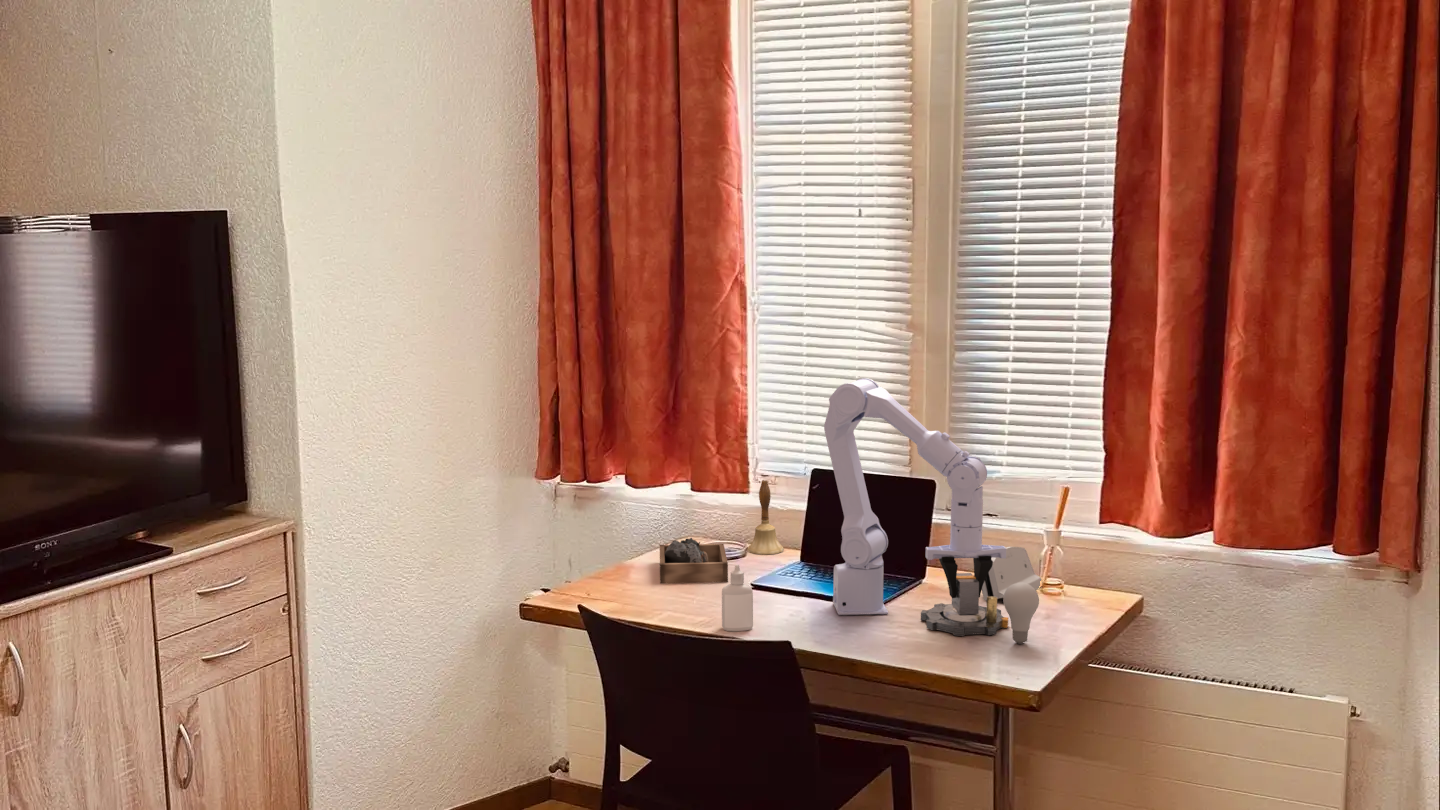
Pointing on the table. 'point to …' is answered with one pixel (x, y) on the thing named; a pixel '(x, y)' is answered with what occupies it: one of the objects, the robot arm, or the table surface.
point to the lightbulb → (1020, 608)
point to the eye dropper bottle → (737, 603)
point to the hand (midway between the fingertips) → (964, 596)
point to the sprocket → (960, 629)
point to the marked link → (966, 594)
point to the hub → (963, 615)
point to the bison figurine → (685, 552)
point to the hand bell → (765, 528)
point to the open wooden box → (696, 567)
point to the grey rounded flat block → (1009, 573)
